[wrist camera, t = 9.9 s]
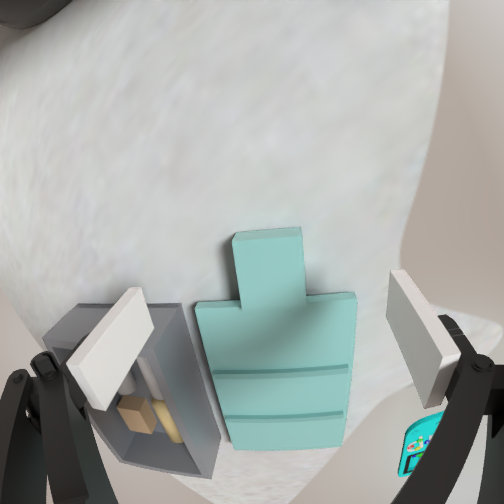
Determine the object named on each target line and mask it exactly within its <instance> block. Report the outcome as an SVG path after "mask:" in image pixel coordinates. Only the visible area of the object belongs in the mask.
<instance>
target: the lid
mask: <svg viewBox="0 0 504 504" xmlns="http://www.w3.org/2000/svg"><path fill="white" fill-rule="evenodd" d="M232 248H233V254H234V261H235V267H236V274H237V280H238V287H239V293H240V300H234V301H212V302H198V303H197V305H196V307H195V313H196V317H197V321H198V325H199V329H200V333H201V337H202V341H203V345H204V349H205V353H206V356H207V360H208V364H209V367H210V371H211V375H212V378H213V382H214V385H215V389H216V392H217V396H218V399H219V403H220V406H221V409H222V413H223V416H224V419H225V423H226V426H227V429H228V432H229V435H230V438H231V441H232V445H233V448H234V450H257V451H275V450H304V449H319V448H330V447H340V446H342V442H343V436H344V430H345V424H346V417H347V410H348V402H349V394H350V386H351V377H352V367H353V356H354V344H355V330H356V312H357V297H356V295H355V292H347V293H336V294H324V295H312V296H306V284H305V267H304V251H303V237H302V231H301V227H291V228H279V229H267V230H256V231H245V232H236V234H235V236H234V238H233V240H232Z"/></svg>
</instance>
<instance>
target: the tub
mask: <svg viewBox="0 0 504 504" xmlns="http://www.w3.org/2000/svg"><path fill="white" fill-rule="evenodd" d="M114 305H115V304H77V305H76V306H75V307H74V308H73V309H72V310H71V311H70V312H69V313H67V314H66V315H65V316H64V317H63V318H62V319H61V320H60V321H59V322H58V323H57V324H56V325H55V326H54V327H53V328H52V329H51V330H49V331H48V332H47V333H46V334H45V335H44V336H43V337H42V339H43V341H44V343H45V345H46V347H47V349H48V351H51V352H52V353H53V354H54V356H55V357H56V359H57V361H58V363H59V365H60V364H61V363H62V362H63V361H64V359H65V358H66V357H67V356H68V354H69V353H70V352H71V351H72V350H73V348H74V347H75V346H76V345H77V343H78V342H79V341H80V340H81V339H82V338H83V337H84V336H85V335H87V334H88V333H90V332H92V331H93V329H94V328H95V327H96V326H97V325H98V323H99V322H100V321H101V320H102V319H103V317H104V316H105V315H106V314H107V313H108V312H109V310H110V309H111V308H112V307H113V306H114ZM147 308H148V311H149V314H150V317H151V320H152V323H153V326H154V329H153V331H152V333H151V334H150V336H149V338H148V339H147V341H146V343H145V344H144V346H143V348H142V349H141V351H140V353H139V354H138V356H137V358H136V359H135V361H134V363H133V365H132V366H131V368H130V370H129V371H128V373H127V375H126V377H125V378H124V380H123V382H122V383H121V385H120V387H119V389H118V390H117V392H116V394H115V396H114V397H113V399H112V401H111V403H110V404H109V406H108V408H107V410H106V411H103V410H98V409H94V408H92V406H91V405H90V403H89V402H88V400H87V401H86V402H85V404H84V406H85V407H86V409H87V411H88V415H89V419H90V423H91V424H92V426H93V427H94V428H95V430H96V431H97V433H98V434H99V435H100V437H101V438H102V440H103V441H104V442H105V444H106V445H107V446H108V448H109V449H110V450H111V452H112V453H113V454H114V455H115V457H116V458H117V459H118V460H119V462H121V463H125V464H129V465H133V466H137V467H141V468H146V469H151V470H155V471H161V472H166V473H171V474H177V475H184V476H190V477H198V478H206V479H211V478H212V474H213V470H214V466H215V461H216V457H217V453H218V449H219V444H220V440H221V435H220V432H219V429H218V426H217V423H216V420H215V417H214V414H213V411H212V408H211V405H210V402H209V399H208V396H207V393H206V390H205V386H204V383H203V380H202V377H201V373H200V370H199V367H198V363H197V360H196V356H195V353H194V349H193V346H192V342H191V339H190V335H189V331H188V328H187V324H186V320H185V316H184V312H183V308H182V304H181V303H168V304H147Z"/></svg>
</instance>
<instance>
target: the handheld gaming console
mask: <svg viewBox="0 0 504 504" xmlns="http://www.w3.org/2000/svg"><path fill="white" fill-rule="evenodd" d="M444 411H445V410H444ZM444 411H441V412H438V413H436V414H432V415H430V416H426V417H424V418H421V419H419V420H417V421H416V422H414V423H413V424H412V425H410V426H409V427H408V429H407V430H406V432H405V436H404V442H403V447H402V453H401V457H400V462H399V467H398V476H399V477H404V476H407V475H410V474H411V473H412V471H413V469H414V468H415V466H416V464H417V463H418V461H419V459H420V458H421V456H422V454H423V452H424V451H425V449H426V447H427V445H428V443H429V441H430V439H431V438H432V436H433V434H434V432H435V430H436V428H437V426H438V424H439V422H440V420H441V417H442V415H443V413H444Z"/></svg>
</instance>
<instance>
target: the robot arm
mask: <svg viewBox="0 0 504 504" xmlns="http://www.w3.org/2000/svg"><path fill="white" fill-rule="evenodd" d="M69 1H70V0H0V24H2V25H4V26H9V27H13V28H18V29H24V28H29V27H32V26H34V25H37V24H39V23H41V22H42V21H44V20H46V19H47V18H49V17H50V16H52V15H53V14H55V13H56V12H57V11H59V10H60V9H61V8H62V7H64V6H65V5H66V4H67V3H68V2H69ZM386 318H387V320H388V322H389V324H390V327H391V329H392V331H393V333H394V336H395V338H396V340H397V342H398V345H399V347H400V349H401V352H402V354H403V356H404V359H405V361H406V364H407V366H408V368H409V371H410V373H411V376H412V378H413V381H414V383H415V386H416V389H417V391H418V394H419V396H420V399H421V402H422V404H423V407H424V409H426V408H430V407H434V406H438V405H441V403H442V401H443V399H444V397H445V396H446V398H447V400H448V405H447V407H446V409H445V411H444V413H443V415H442V417H441V420H440V422H439V424H438V426H437V428H436V430H435V432H434V434H433V436H432V438H431V439H430V441H429V443H428V445H427V447H426V449H425V451H424V452H423V454H422V456H421V458H420V459H419V461H418V463H417V464H416V466H415V468H414V469H413V471H412V473H411V474H410V476H409V477H408V479H407V481H406V482H405V484H404V485H403V487H402V488H401V490H400V491H399V493H398V494H397V495H396V497H395V498H394V500H393V501H392V503H391V504H445V503H446V501H447V499H448V497H449V495H450V493H451V491H452V489H453V487H454V485H455V483H456V481H457V479H458V477H459V475H460V473H461V471H462V468H463V466H464V464H465V462H466V459H467V457H468V454H469V452H470V450H471V447H472V445H473V442H474V439H475V437H476V434H477V431H478V428H479V426H480V423H481V420H482V417H483V415H488V423H487V440H486V450H485V460H484V467H483V474H482V481H481V486H480V492H479V497H478V502H477V504H504V365H495V364H494V362H493V361H492V360H491V359H490V358H489V357H487V356H485V355H481V354H477V353H476V351H475V350H474V348H473V347H472V345H471V344H470V342H469V341H468V339H467V338H466V336H465V335H463V332H462V330H461V329H459V326H458V325H457V323H456V322H455V321H454V320H453V319H452V318H450V317H449V316H447V315H446V314H445V315H439V316H437V315H436V313H435V312H434V310H433V309H432V308H431V306H430V305H429V303H428V302H427V300H426V299H425V298H424V296H423V295H422V293H421V292H420V291H419V289H418V288H417V286H416V285H415V284H414V282H413V281H412V280H411V278H410V277H409V276H408V274H407V273H406V271H405V270H404V269H400V270H390V279H389V290H388V300H387V310H386ZM153 329H154V326H153V323H152V320H151V317H150V314H149V311H148V308H147V304H146V301H145V298H144V295H143V292H142V288H141V287H130V288H129V289H128V290H127V291H126V292H125V293H124V294H123V296H122V297H121V298H120V299H119V300H118V301H117V302H116V304H115V305H114V306H113V307H112V308H111V309H110V310H109V312H108V313H107V314H106V315H105V316H104V317H103V319H102V320H101V321H100V322H99V323H98V325H97V326H96V327H95V328H94V329H93V331H92V332H90V333H88V334H87V335H85V336H84V337H83V338H82V339H81V340H80V341H79V342H78V343H77V345H76V346H75V347H74V348H73V350H72V351H71V352H70V353H69V354H68V356H67V357H66V358H65V359H64V361H63V362H62V363H61V364H60V365H59V363H58V361H57V359H56V357H55V356H54V354H53V353H52V352H51V351H45V352H42V353H39V354H38V355H36V356H35V357H34V358H33V359H32V360H31V363H30V365H31V367H32V369H33V371H34V372H35V374H36V375H37V377H30V375H29V373H28V372H27V370H25V369H19V370H16V371H14V372H13V373H12V374H11V375H10V376H9V378H8V380H7V383H6V385H5V388H4V391H3V394H2V396H1V399H0V504H46V486H47V474H48V480H49V485H50V490H51V494H52V498H53V503H54V504H118V501H117V499H116V497H115V494H114V492H113V489H112V487H111V484H110V481H109V479H108V476H107V473H106V471H105V468H104V465H103V462H102V459H101V456H100V453H99V450H98V447H97V444H96V440H95V437H94V434H93V430H92V427H91V423H90V419H89V415H88V411H87V409H86V407H85V406H84V404H85V402H86V401H87V400H88V402H89V403H90V405H91V406H92V408H94V409H98V410H103V411H106V410H107V408H108V406H109V404H110V403H111V401H112V399H113V397H114V396H115V394H116V392H117V390H118V389H119V387H120V385H121V383H122V382H123V380H124V378H125V377H126V375H127V373H128V371H129V370H130V368H131V366H132V365H133V363H134V361H135V359H136V358H137V356H138V354H139V353H140V351H141V349H142V348H143V346H144V344H145V343H146V341H147V339H148V338H149V336H150V334H151V333H152V331H153ZM26 410H27V412H28V413H29V414H28V417H27V416H26Z"/></svg>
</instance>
